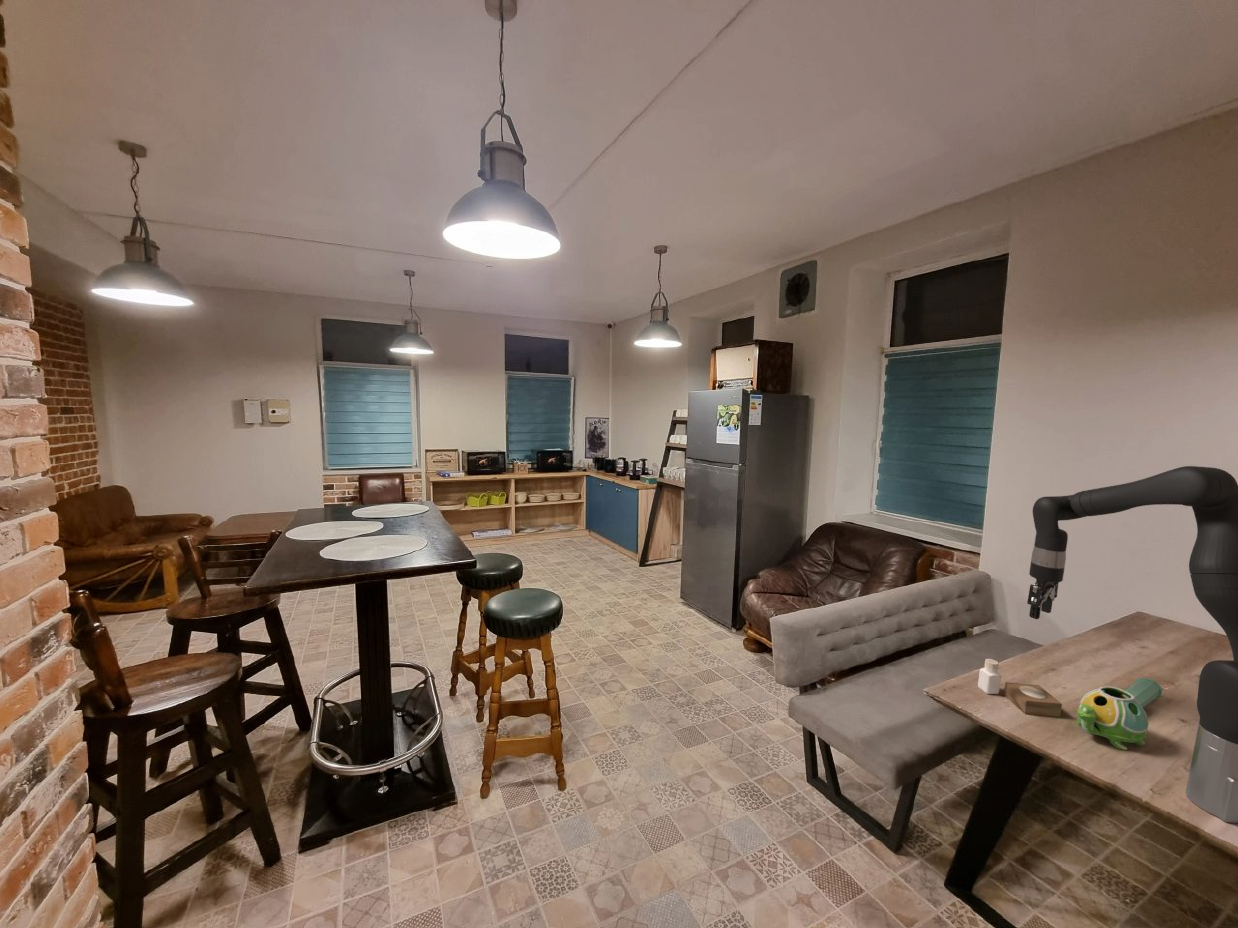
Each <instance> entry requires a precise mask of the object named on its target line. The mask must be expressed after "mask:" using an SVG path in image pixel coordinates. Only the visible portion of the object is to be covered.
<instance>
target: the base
mask: <svg viewBox="0 0 1238 928" xmlns="http://www.w3.org/2000/svg"><path fill="white" fill-rule="evenodd" d="M1003 692H1004V693H1003V696H1005V697H1006V698H1007V699H1008V700H1009V701H1010V702H1011V703H1012V704H1013V705H1015V707H1016V708H1017V709H1019V710H1020V711H1021V712H1022V713H1023V714H1024V713H1025V714H1024V715H1033V716H1043V717H1044V716H1045V717H1056V718H1060V717H1061V714H1062V713H1061V712H1062V706H1063V704H1062V702H1060V701H1059V700H1058V699H1056V697H1054V696H1053V695H1052V694H1051V693H1049V692H1048V691H1047V690H1046V689H1044V688H1043V687H1042V686H1041V685H1040V684H1032V683H1031V684H1029V683H1017V682H1008V681H1006V682H1005V683H1004V690H1003Z"/></svg>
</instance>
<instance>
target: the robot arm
mask: <svg viewBox="0 0 1238 928" xmlns="http://www.w3.org/2000/svg"><path fill="white" fill-rule="evenodd" d="M1154 505H1160V506H1161V505H1174V506H1175V505H1180V506H1185V507H1191V508H1192V511H1193V514H1194V518H1195V522H1196V529H1197V534H1196V539H1195V541H1194V544H1193V547H1192V550H1191V553H1190V556H1189V560H1188V562H1189V563H1188V568H1189V569H1188V570H1189V575H1190V579H1191V583H1192V589H1193V592H1194V595H1195V597H1196V599H1197V600H1198V602H1199V603H1200V604H1201V606H1202V607H1203V608H1204V609H1205V611H1206V612H1207V613H1208V614H1209V615H1210V616H1211V618H1213V620H1214V621H1216V623H1217V624H1218V625H1219V626H1220V628H1222V630H1223V632H1224V633H1225V635H1226V636H1227V639H1228V642H1229V645H1230V648H1231V651H1232V657H1233V660H1230V659H1229V660H1227V659H1223V660H1222V659H1218V660H1216V659H1215V660H1211V661H1208V662H1207V663H1206V664H1205V665H1204V666H1203V667H1202V669H1201V671H1200V675H1199V680H1198V687H1197V688H1198V689H1197V697H1196V709H1197V712H1198V715H1199V721H1198V727H1197V731H1196V736H1195V742H1194V746H1193V750H1192V751H1193V753H1192V757H1191V760H1190V761H1191V762H1190V768H1189V772H1188V778H1187V782H1186V783H1187V784H1186V788H1185V789H1186V790H1185V795H1186V797H1187V798H1188V800H1190V801H1191V802H1192V803H1193V804H1195V805H1196V806H1197V807H1198V808H1200V809H1201V810H1203V811H1205V812H1207V813H1209V814H1212V815H1213V816H1215V817H1217V818H1219V819H1220V820H1222V821H1223V822H1225V823H1234V824H1238V482H1237V480H1236V479H1235V477H1234V476H1233V475H1232V474H1231V473H1229V472H1228V471H1226V470H1223V469H1221V468H1217V467H1209V466H1196V465H1195V466H1194V465H1186V466H1185V465H1184V466H1181V467H1176V468H1174V469H1170V470H1166V471H1164V472H1161V473H1157V474H1154V475H1151V476H1149V477H1145V478H1142V479H1138V480H1135V481H1131V482H1127V483H1122V484H1116V485H1109V486H1103V487H1097V488H1091V489H1088V490H1087V489H1086V490H1081V491H1077V492H1076V493H1074V494H1069V495H1056V496H1055V495H1054V496H1042V497H1040V498H1038V499H1037V500H1036V501H1035V502H1034V504H1033V506H1032V518H1033V524H1034V528H1035V531H1036V532H1035V539H1034V543H1033V544H1034V546H1033V548H1032V552H1031V558H1030V559H1031V560H1030V566H1029V572H1028V573H1029V575H1030V577H1032V578H1034V579H1035V583H1033V584H1030V585H1029V591H1028V596H1027V605H1030V606H1029V607H1030V609H1029V615H1028V616H1029V617H1030V618H1031V619H1034V620H1039V619H1041V618H1040V617H1041V612H1043V613H1047V614H1050V613H1052V609H1053V602H1054V601H1055V599H1057V597H1058V590H1059V583H1062V582H1063V581H1064V574H1065V568H1066V567H1065V566H1066V561H1067V553H1066V552H1067V548H1068V539H1069V538H1068V537H1069V535H1068V533H1067V531H1065V530H1064V529H1061V528H1060V527H1059V522H1060V521H1071V520H1077V519H1082V518H1087V517H1095V516H1097V517H1098V516H1103V515H1111V514H1116V513H1121V512H1125V511H1128V510H1131V509H1135V508H1139V507H1144V506H1154Z"/></svg>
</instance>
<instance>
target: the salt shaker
mask: <svg viewBox="0 0 1238 928" xmlns="http://www.w3.org/2000/svg"><path fill="white" fill-rule="evenodd" d="M998 668H999V662H998V661H997V660H995V659H992V658H985V660H984V667H982V668H980V669H979V674H978V681H977V686H978V687H977V688H978V689H980V690H981V691H983V693H985V694H987V695H999V693H1000V689H1001V688H1000V686H1001V679H1002V675H1001V674H1000V673H999V672H998Z"/></svg>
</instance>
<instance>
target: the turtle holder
mask: <svg viewBox="0 0 1238 928" xmlns="http://www.w3.org/2000/svg"><path fill="white" fill-rule="evenodd" d="M1122 694H1123V695H1126V696H1127V697H1129V699H1126V698H1125V697H1124V696H1123V695H1122ZM1078 704H1079V707H1078V708H1077V710H1076V715H1077V720H1076V723H1077V725H1079V726H1080V727H1081V729H1082V730H1083V731H1084V732H1085V733H1087V734H1089V735H1096V736H1100V737H1104V738H1107V739H1108V740H1109V743H1110V744H1111V746H1113V747H1114V748H1117V749H1119V750H1123V751H1127V750H1128V747H1127V746H1126V745H1124V744H1123V743H1121V742H1125V743H1133V744H1134V745H1137V746H1145V745H1146V742H1145V741H1144V740H1145V739H1146V738H1147V731H1148V729H1149V718H1148V716H1147V713H1146V710H1145V708H1144V707H1143V708H1142V706H1141V705H1140V703H1139V702H1138V701H1137V700H1136V699H1135V697H1134V696H1133V695H1132V694H1130V693H1128V692H1126V691H1125V690H1124V689H1122V688H1119V687H1114V686H1100V687H1098V688H1096V689H1093V690H1090V691H1088V692H1087V693H1086V694H1084V695H1083V697H1082V698H1081V700H1080V702H1079V703H1078Z"/></svg>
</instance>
